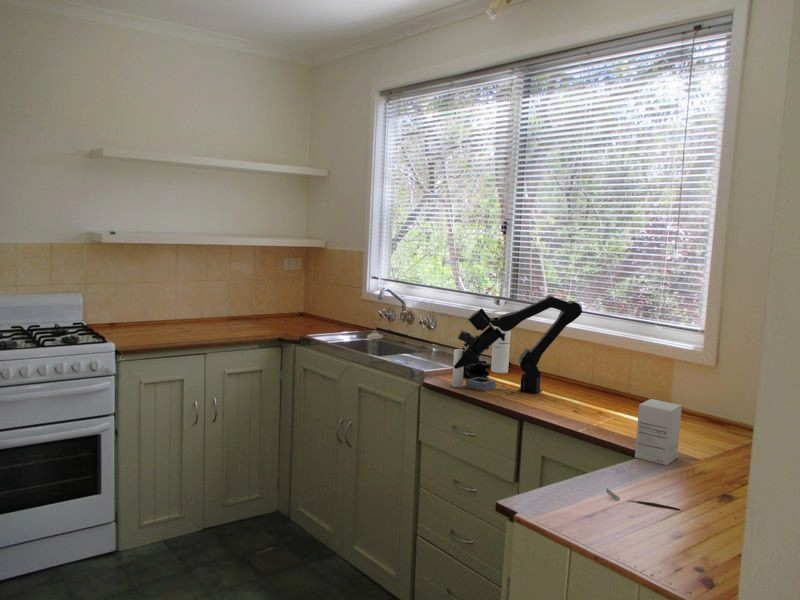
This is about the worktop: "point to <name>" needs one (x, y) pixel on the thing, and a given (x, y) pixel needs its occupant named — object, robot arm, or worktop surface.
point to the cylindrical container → (500, 351)
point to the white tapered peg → (457, 373)
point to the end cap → (476, 370)
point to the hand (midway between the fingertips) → (454, 366)
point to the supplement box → (658, 431)
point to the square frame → (481, 383)
